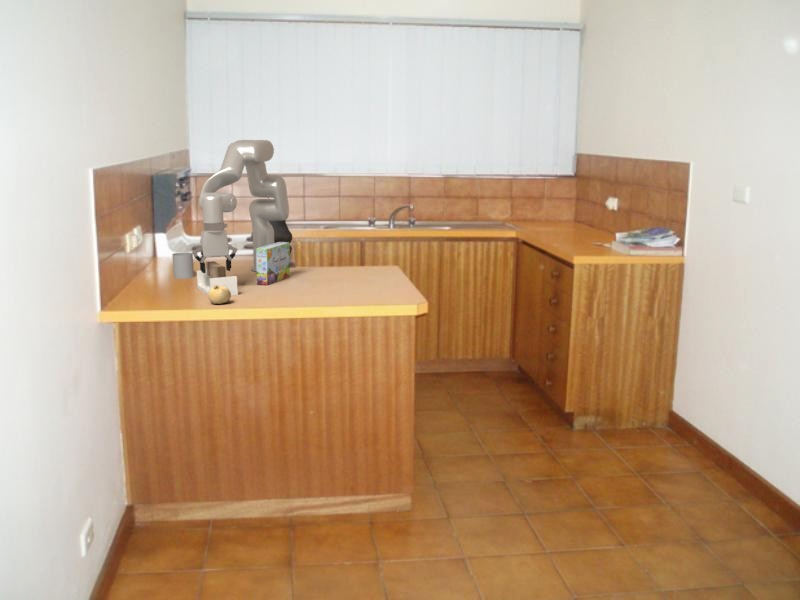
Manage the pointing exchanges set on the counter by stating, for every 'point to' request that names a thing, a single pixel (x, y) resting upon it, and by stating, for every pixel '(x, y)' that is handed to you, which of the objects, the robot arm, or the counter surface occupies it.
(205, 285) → the white bracket frame
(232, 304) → the counter surface
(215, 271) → the tan bar
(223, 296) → the onion
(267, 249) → the snack box
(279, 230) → the pitcher
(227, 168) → the robot arm
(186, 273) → the cup
